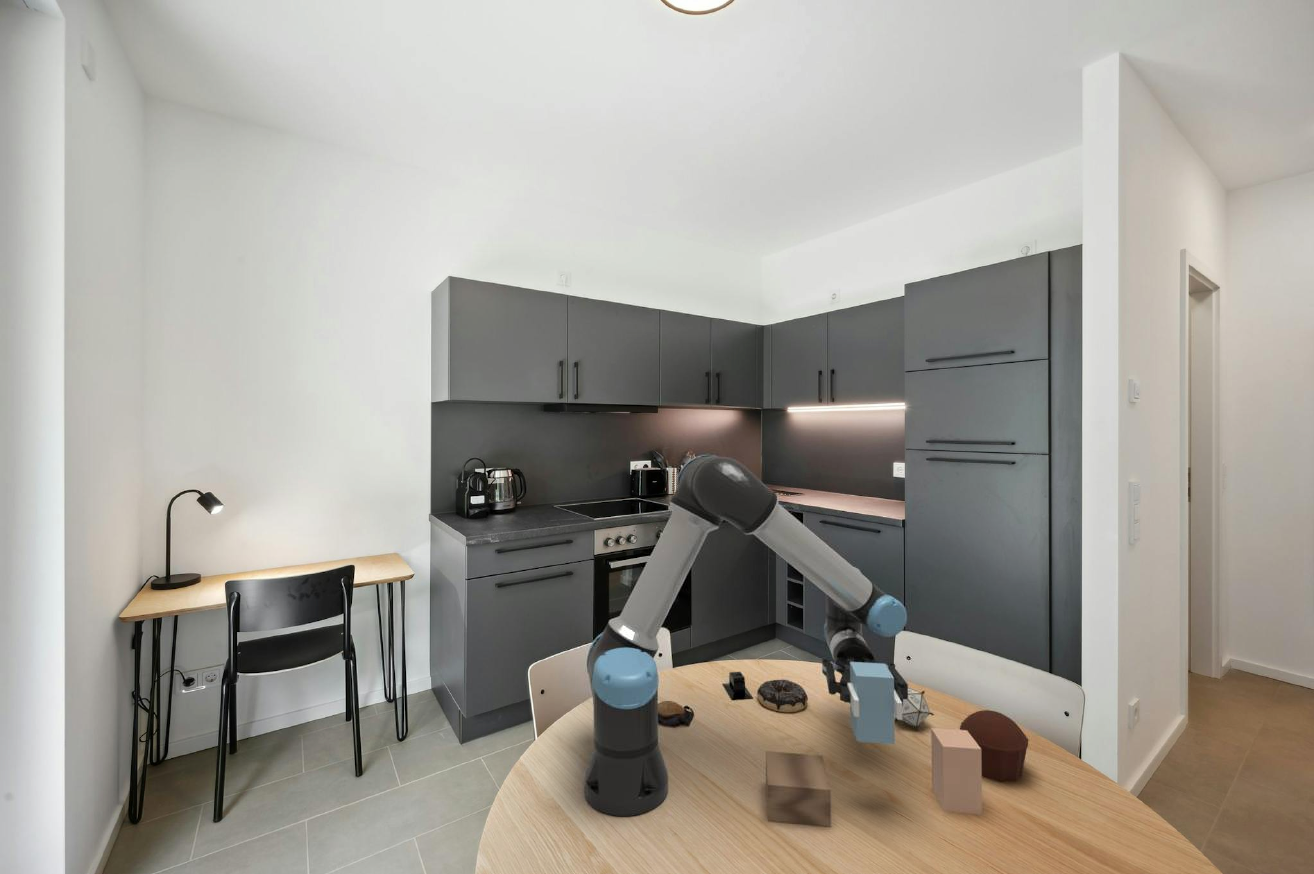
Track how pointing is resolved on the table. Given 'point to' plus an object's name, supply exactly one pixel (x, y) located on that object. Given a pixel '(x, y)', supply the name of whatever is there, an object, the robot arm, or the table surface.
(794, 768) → the base block
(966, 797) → the clay brick
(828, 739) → the table surface
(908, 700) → the game die
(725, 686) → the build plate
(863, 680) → the blue brick
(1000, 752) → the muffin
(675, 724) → the brown and black lump
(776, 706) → the donut
